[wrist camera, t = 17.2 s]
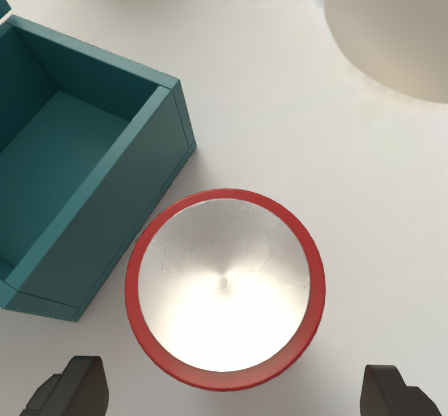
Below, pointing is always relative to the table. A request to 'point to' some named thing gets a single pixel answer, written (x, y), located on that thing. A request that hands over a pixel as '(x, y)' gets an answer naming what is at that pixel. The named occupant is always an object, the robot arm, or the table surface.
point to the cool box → (77, 163)
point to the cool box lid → (4, 8)
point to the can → (225, 290)
